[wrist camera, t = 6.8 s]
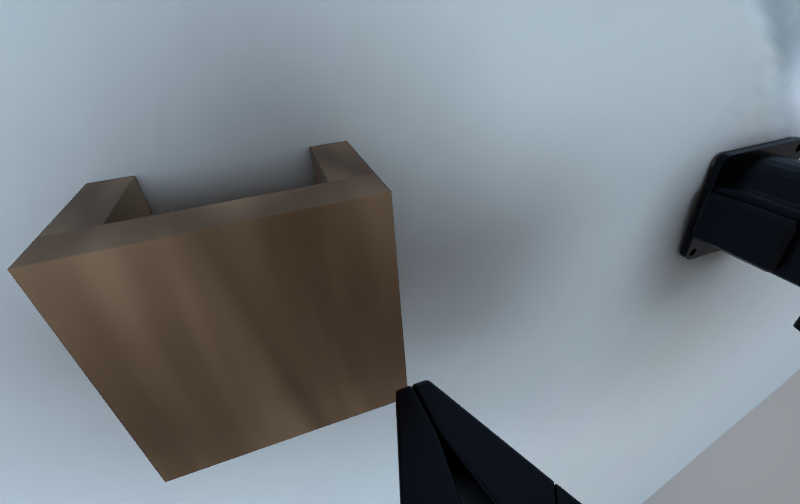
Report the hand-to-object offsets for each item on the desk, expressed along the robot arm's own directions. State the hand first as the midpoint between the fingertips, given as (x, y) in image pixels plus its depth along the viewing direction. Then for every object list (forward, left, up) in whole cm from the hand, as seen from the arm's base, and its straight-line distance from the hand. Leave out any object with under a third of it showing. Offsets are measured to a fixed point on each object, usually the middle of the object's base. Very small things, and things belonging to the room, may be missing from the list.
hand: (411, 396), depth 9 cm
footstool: (-1, 0, -5) cm, 5 cm away
